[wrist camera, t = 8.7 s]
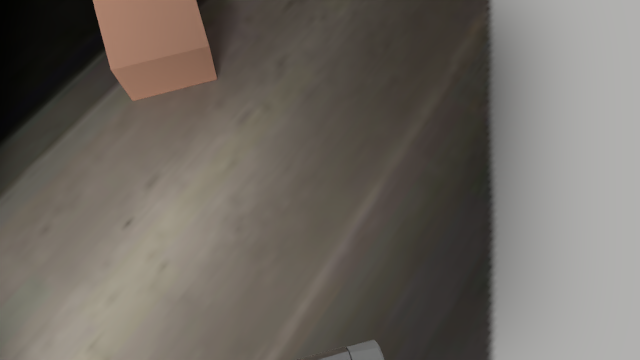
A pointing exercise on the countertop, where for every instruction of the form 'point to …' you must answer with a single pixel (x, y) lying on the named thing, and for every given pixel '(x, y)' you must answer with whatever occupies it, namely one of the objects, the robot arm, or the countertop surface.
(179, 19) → the terracotta post
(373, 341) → the robot arm
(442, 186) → the countertop surface
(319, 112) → the countertop surface
